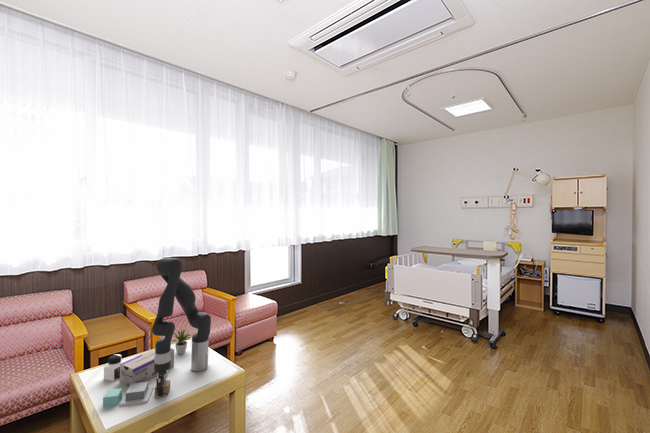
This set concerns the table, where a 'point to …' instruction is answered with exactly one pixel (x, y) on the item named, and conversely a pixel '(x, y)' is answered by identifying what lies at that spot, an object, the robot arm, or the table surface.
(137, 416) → the table surface
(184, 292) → the robot arm
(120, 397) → the teal block
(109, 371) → the medicine bottle
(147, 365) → the surgical sutures box
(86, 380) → the table surface
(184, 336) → the house plant
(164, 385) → the walnut block
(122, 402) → the plate
